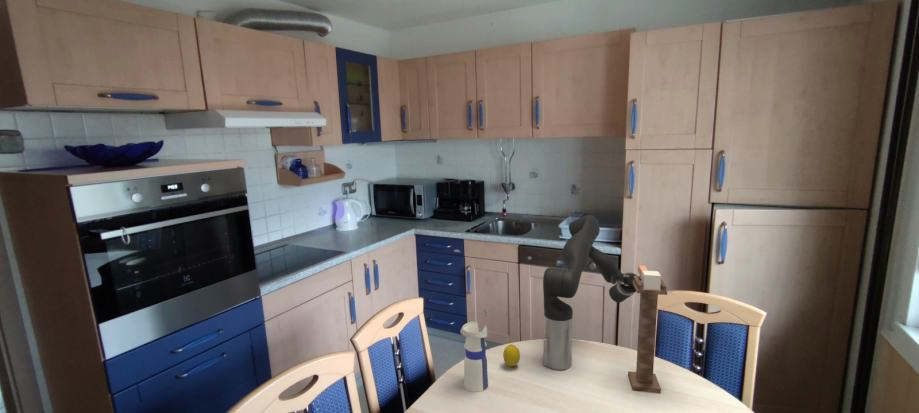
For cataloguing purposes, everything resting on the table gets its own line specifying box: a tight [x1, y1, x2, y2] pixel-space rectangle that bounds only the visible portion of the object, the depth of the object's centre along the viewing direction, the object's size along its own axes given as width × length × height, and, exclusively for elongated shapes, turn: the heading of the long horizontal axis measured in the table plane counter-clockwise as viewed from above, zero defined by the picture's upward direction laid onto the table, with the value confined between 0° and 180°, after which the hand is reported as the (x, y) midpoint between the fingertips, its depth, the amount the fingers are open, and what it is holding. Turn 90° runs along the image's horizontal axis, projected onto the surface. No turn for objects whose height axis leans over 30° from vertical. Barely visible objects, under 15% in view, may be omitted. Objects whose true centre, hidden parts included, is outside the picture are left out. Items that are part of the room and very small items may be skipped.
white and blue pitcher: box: [460, 306, 490, 393], centre depth 131 cm, size 8×9×25 cm
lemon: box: [502, 344, 521, 368], centre depth 142 cm, size 6×6×8 cm
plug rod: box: [637, 264, 662, 291], centre depth 129 cm, size 4×16×4 cm, turn 167°
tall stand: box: [627, 275, 668, 394], centre depth 128 cm, size 8×8×33 cm
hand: (635, 276), depth 147 cm, fingers open, 8 cm apart
